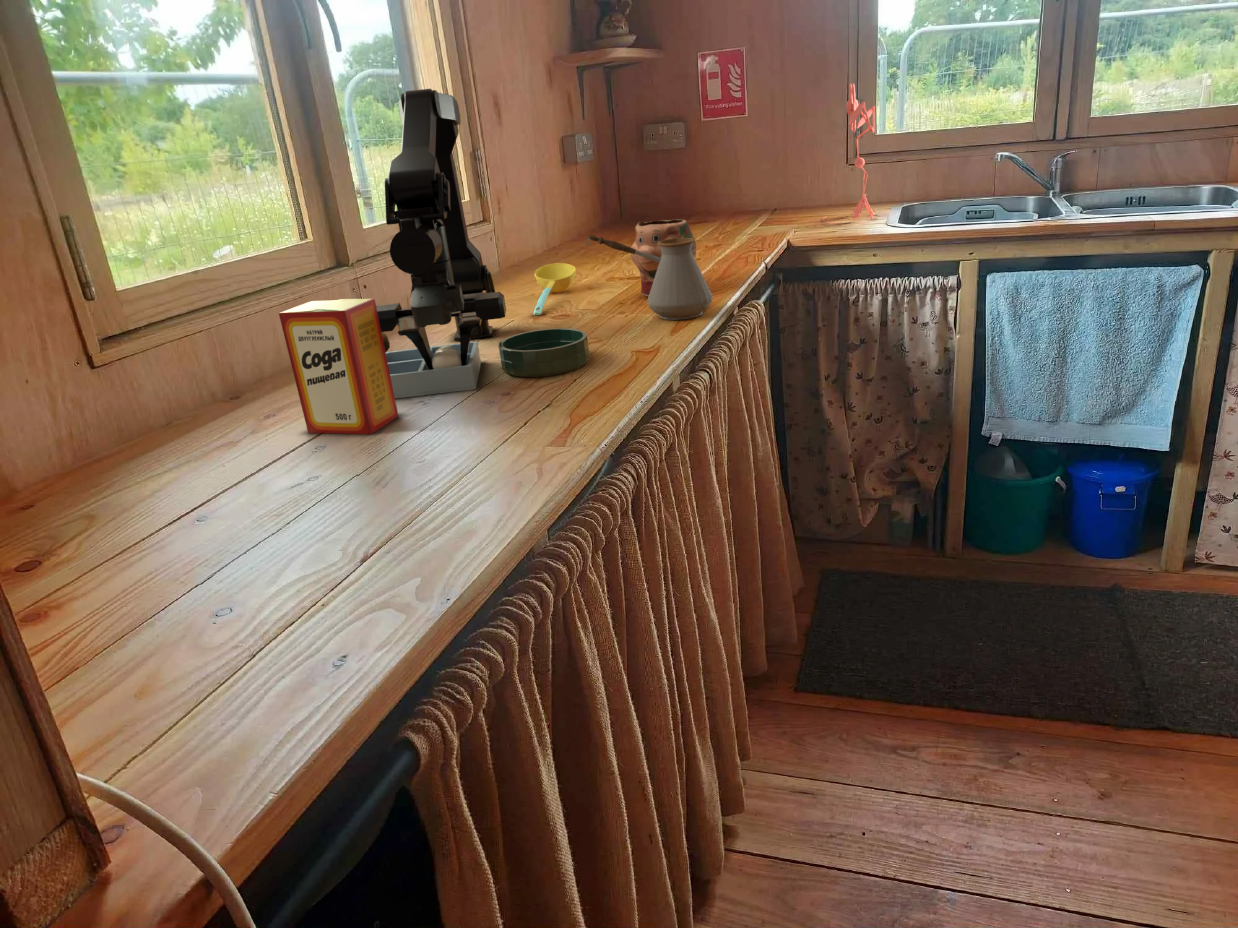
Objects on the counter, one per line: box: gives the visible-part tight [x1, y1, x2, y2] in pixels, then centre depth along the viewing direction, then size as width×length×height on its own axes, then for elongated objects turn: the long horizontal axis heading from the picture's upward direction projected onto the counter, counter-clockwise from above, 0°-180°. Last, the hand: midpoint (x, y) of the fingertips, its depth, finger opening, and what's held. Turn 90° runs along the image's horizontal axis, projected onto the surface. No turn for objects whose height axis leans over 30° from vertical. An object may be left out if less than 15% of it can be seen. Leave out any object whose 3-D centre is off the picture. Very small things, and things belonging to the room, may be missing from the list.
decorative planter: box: [630, 218, 697, 297], centre depth 171 cm, size 20×12×14 cm, turn 162°
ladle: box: [532, 262, 577, 316], centre depth 177 cm, size 9×26×6 cm, turn 174°
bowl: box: [498, 327, 590, 378], centre depth 131 cm, size 13×13×4 cm
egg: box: [432, 346, 462, 369], centre depth 125 cm, size 5×4×4 cm
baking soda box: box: [278, 298, 399, 435], centre depth 111 cm, size 10×6×16 cm
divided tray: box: [386, 341, 482, 400], centre depth 129 cm, size 15×15×3 cm
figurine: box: [821, 82, 876, 224], centre depth 238 cm, size 15×26×35 cm, turn 165°
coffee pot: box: [585, 234, 714, 321], centre depth 152 cm, size 21×12×15 cm, turn 81°
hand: (448, 370), depth 126 cm, fingers closed on egg, 4 cm apart
